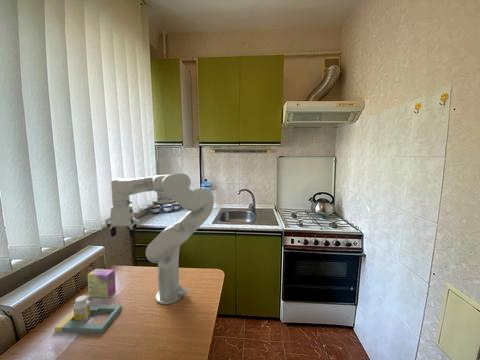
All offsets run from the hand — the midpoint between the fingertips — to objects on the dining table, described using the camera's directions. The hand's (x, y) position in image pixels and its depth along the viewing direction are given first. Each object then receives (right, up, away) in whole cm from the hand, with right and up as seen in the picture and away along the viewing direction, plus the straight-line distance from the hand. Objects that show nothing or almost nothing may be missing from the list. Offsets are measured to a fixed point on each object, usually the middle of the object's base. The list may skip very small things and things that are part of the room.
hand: (123, 236), depth 106 cm
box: (-9, -29, -2) cm, 30 cm away
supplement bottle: (-7, -31, -18) cm, 36 cm away
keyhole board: (-3, -30, -18) cm, 36 cm away
